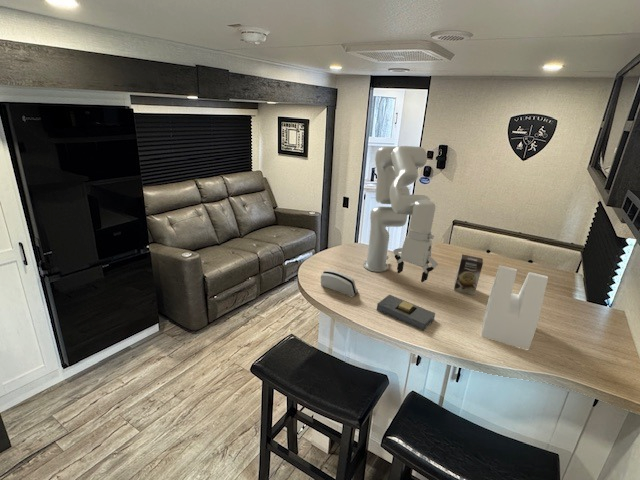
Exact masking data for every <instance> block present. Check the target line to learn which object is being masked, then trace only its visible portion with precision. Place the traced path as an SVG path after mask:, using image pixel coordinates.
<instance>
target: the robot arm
mask: <svg viewBox="0 0 640 480" xmlns="http://www.w3.org/2000/svg"><path fill="white" fill-rule="evenodd" d="M374 160H375V167H376V173H377V177H376V186H375V187H376V188H375V201H376V202H377V203H378V204H380V205H381V204H382V205H391V206H375V207H374V208H372V209H371V211H370V214H369V215H370V218H369V219H370V230H369V240H368V247H367V256H366V260H364V262H363V264H362V266H363V268H364V269H366V270H368V271H370V272H375V273H383V272H384V273H385V272H386V271H388V269H389V265H388V263H387V260H388V259H389V258H390V257H389V255H388V249H389V244H390V243H389V241H390V233H389V231H388V230H387V229H386V228H388V227H390V228H391V227H392V228H393V227H395V228H396V227H397V228H398V227H404V226H405V225H406V223H407V219H408V216H411V217H410V222H409V223H410V224H409V228H408V234H406V236H405V238H404V241H403V244H402V247H399V248H394V249H393V255H394V258H395V260H396V263H397V268H396V270H397V272H396V273H397V274H401V273H402V272H403V270H404V265H405V264H404V263H405V262H407V263H409V264H411V265H415V266H418V267H421V268H422V270H423V271H422V274H421V279H420V281H421V283H424V282H425V281H427V280H428V277H429V273H430V272H432V271H433V270H434V269H436V267H437V266H438V265H439V263H438V262H437V261H436V260H435V259H434V258H433V257H431V255H432V245H433V244H432V240H433V239H434V237H435V235H432V226H433V222H434V217H435V212H436V204H435V202H432V201H431V199H430V197H429V196H428V195H425V194H410V188H409V187H408V186H409V185H411V184H413V183H415V182H416V181H417V179H418V177H419V171H418V168H419V169H421V168H423V167H425V166H426V163H427V161H428V154H427V151H426V149H425V148H424V147H422V146H412V145H411V146H409V145H399V146H382V147H380V148H378V149H377V150H376V153H375V159H374ZM399 253H400V254H399ZM429 264H431V265H429Z"/></svg>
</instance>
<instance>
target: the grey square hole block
mask: <svg viewBox="0 0 640 480" xmlns="http://www.w3.org/2000/svg"><path fill="white" fill-rule="evenodd" d="M403 301H405V302H407V303H410V304H413V305H414V307H413V313H412V314H411V315H409V314H407V313H404V312H402V311H400V310H398V306H399V305H400V304H401V303H402V302H403ZM376 311H377V312H380V313H382V314H385V315H386V316H388V317H392V318H393V319H396V320H397V321H400V322H402V323H405V324H407V325H409V326H411V327H414V328H416V329H418V330H420V331H423V332H424V331H425V330H426V329H427V328H428V327H429V326H430V325H431V324H432V323H433V321H434V320H435V317H436V312H434V311H431V310H429V309H426V308H423V307H422V306H419V305H416V304H415V303H412V302H409V301H406V300H404V299H402V298H399V297H397V296H395V295H392V294H388V295H387V296H385V298H383V299H381V300H380V301H379V302H377V305H376Z"/></svg>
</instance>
